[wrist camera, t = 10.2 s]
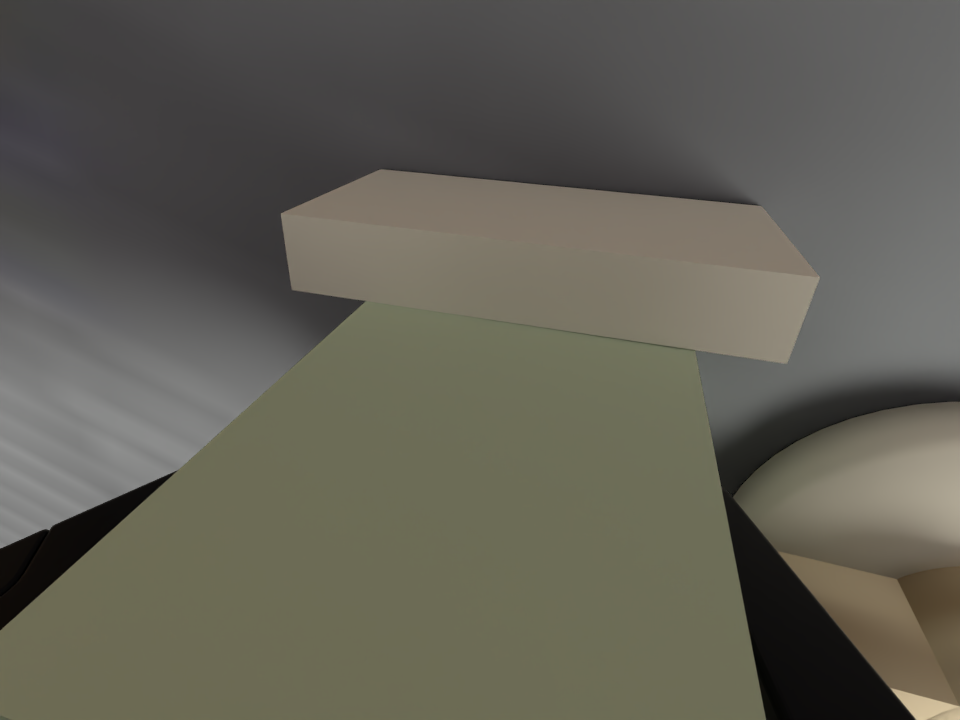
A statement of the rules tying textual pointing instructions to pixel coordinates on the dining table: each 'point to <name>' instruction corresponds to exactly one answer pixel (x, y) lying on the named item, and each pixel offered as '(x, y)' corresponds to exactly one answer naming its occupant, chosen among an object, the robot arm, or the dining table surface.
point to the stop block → (417, 547)
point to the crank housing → (649, 328)
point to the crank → (898, 628)
